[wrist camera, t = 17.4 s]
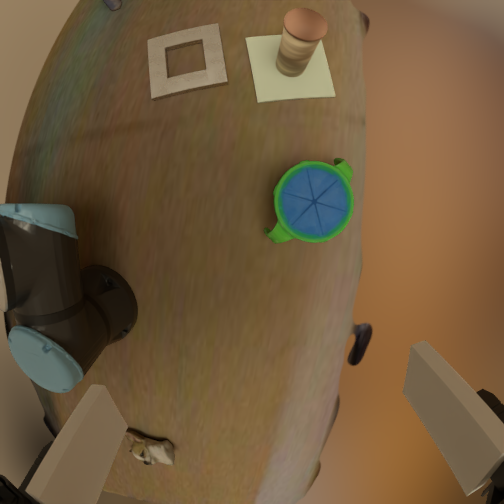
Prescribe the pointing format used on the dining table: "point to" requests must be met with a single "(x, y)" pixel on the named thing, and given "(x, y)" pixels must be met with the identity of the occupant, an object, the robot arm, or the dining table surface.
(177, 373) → the dining table surface
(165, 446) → the ceramic sculpture
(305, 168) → the snack cup
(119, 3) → the flask
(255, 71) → the mat
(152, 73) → the socket
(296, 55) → the plug
